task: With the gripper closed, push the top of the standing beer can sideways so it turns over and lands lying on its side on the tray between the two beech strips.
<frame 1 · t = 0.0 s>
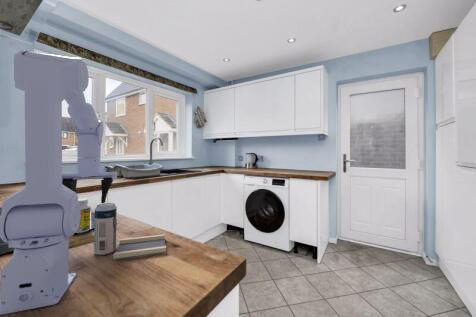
hand: (88, 203, 64), 10 cm above the counter, fingers open, 7 cm apart
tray: (141, 248, 56), on the counter
shard: (72, 244, 60), on the counter
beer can: (105, 252, 54), on the counter
supplement bottle: (79, 231, 69), on the counter
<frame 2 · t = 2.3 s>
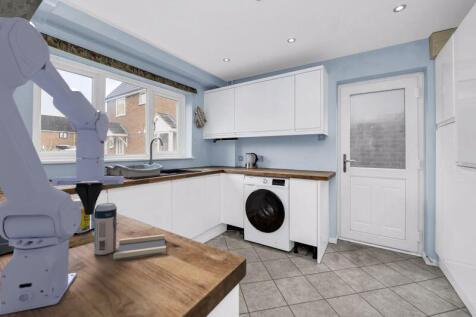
hand: (89, 214, 53), 10 cm above the counter, fingers closed
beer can: (105, 252, 54), on the counter, touching gripper
everything else where it was.
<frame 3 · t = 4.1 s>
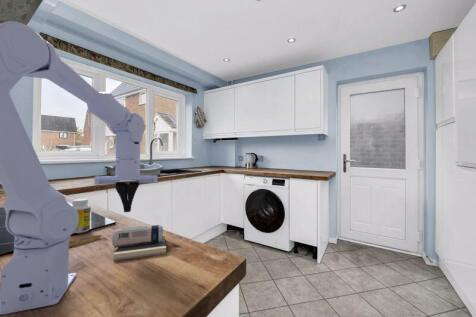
hand: (127, 211, 56), 10 cm above the counter, fingers closed
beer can: (112, 238, 56), point 3 cm above the counter, touching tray
everything else where it was.
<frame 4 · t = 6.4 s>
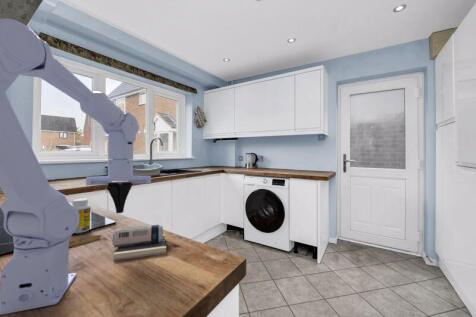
hand: (119, 212, 55), 10 cm above the counter, fingers closed
nothing on the counter moved.
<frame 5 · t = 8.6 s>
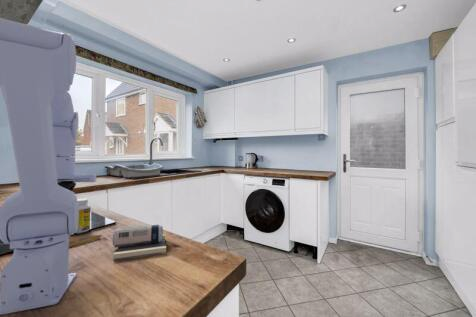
hand: (59, 212, 52), 10 cm above the counter, fingers closed
nothing on the counter moved.
at the end: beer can tilted 90°; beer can inside the target area (8.2 cm from its centre), point 2.9 cm above the counter; the gripper is holding nothing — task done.
